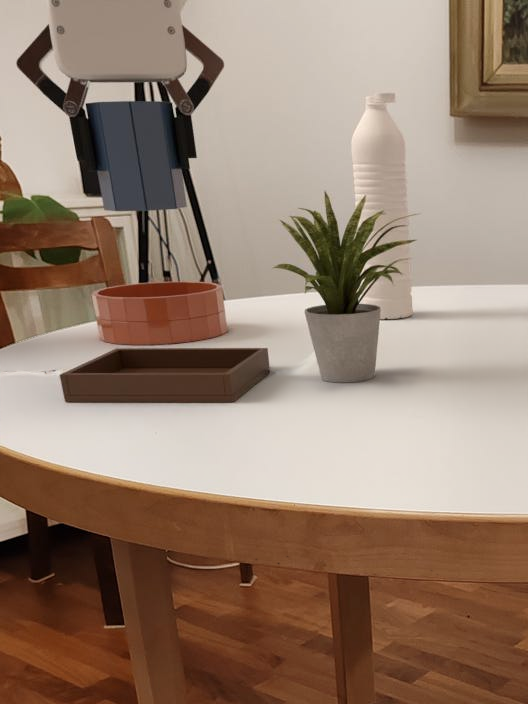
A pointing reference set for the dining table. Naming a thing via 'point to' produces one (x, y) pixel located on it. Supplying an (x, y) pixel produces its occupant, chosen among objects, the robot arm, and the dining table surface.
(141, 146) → the cup
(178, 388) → the tray
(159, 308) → the bowl
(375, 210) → the water bottle
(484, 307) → the dining table surface
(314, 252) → the house plant
